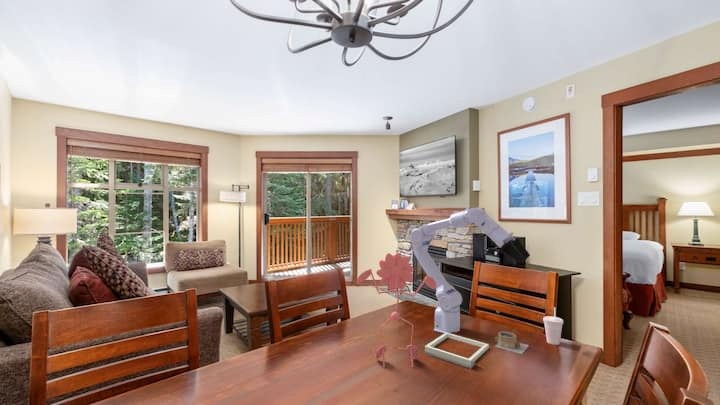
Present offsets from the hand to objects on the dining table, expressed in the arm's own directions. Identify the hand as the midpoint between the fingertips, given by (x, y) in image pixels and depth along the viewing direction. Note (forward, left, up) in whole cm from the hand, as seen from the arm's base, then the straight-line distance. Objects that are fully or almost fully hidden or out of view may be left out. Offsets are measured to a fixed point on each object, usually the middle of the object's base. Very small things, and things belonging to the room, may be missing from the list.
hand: (525, 258), depth 114 cm
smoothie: (+6, +12, -32) cm, 35 cm away
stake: (-4, -1, -32) cm, 33 cm away
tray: (-18, -16, -32) cm, 40 cm away
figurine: (-32, -33, -32) cm, 56 cm away
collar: (-6, -1, -31) cm, 32 cm away
